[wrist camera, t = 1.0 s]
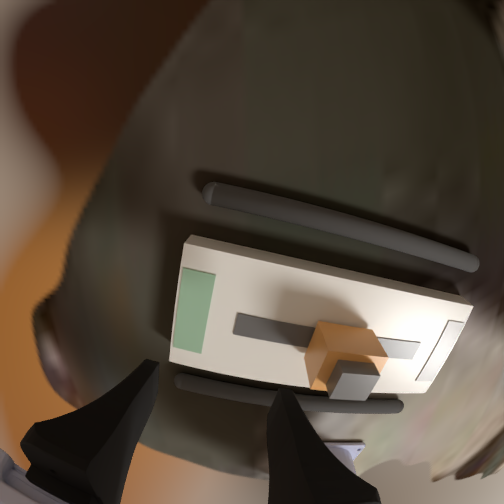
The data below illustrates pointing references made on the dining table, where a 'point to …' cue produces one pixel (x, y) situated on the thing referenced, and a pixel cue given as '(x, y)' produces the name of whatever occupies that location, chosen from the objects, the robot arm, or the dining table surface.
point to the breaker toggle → (344, 361)
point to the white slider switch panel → (303, 316)
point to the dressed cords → (333, 224)
